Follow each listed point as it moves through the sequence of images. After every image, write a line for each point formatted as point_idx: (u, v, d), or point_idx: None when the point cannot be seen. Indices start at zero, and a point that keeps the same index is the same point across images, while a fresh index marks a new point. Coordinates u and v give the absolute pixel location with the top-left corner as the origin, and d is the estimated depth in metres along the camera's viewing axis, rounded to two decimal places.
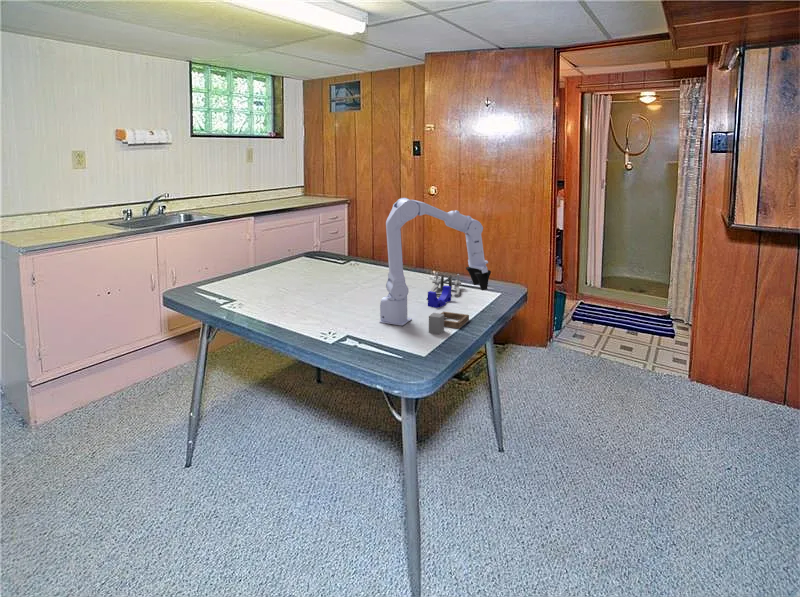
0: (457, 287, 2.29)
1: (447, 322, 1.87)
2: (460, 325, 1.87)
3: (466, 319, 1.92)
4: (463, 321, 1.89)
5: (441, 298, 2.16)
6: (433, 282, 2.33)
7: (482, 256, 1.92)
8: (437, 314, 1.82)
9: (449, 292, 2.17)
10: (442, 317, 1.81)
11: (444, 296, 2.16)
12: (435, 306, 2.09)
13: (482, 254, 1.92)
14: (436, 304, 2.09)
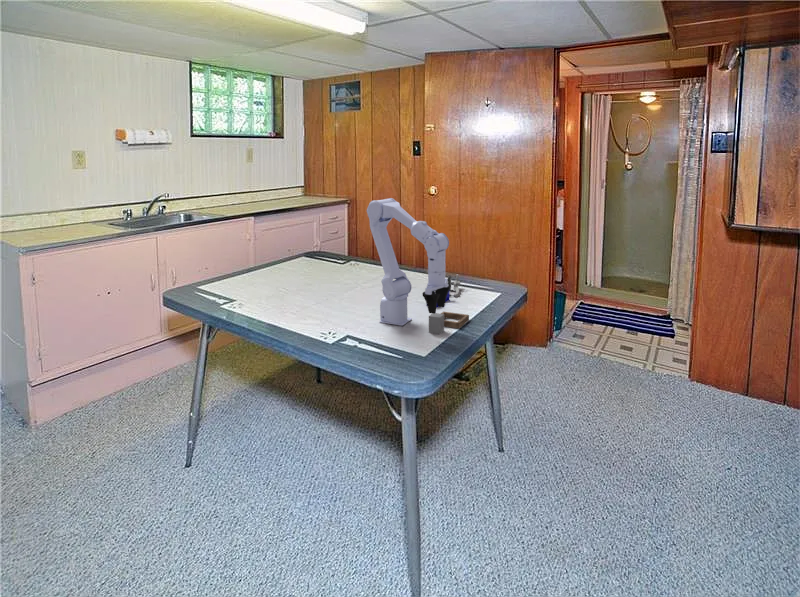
0: (456, 287, 2.29)
1: (447, 322, 1.87)
2: (460, 325, 1.87)
3: (466, 319, 1.92)
4: (463, 321, 1.89)
5: None
6: None
7: (438, 277, 1.75)
8: (437, 314, 1.82)
9: None
10: (442, 317, 1.81)
11: None
12: None
13: (438, 275, 1.75)
14: None
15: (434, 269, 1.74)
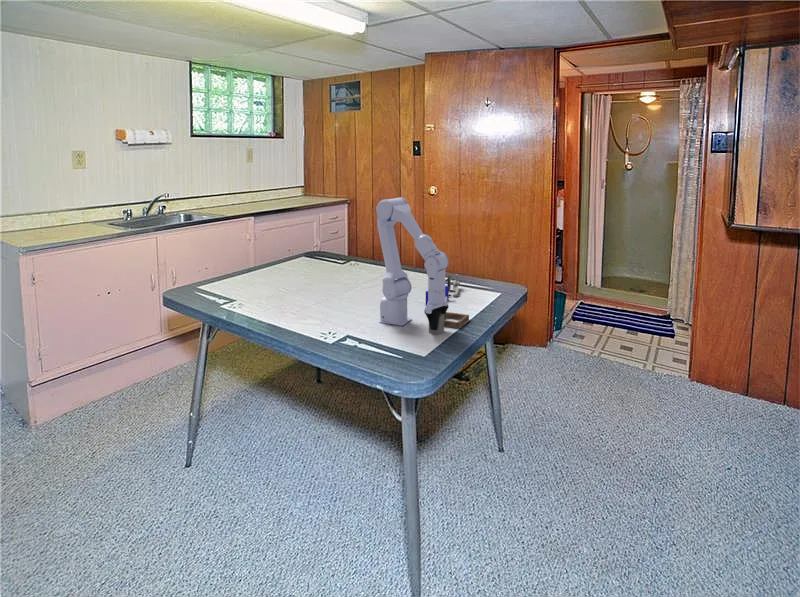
0: (456, 287, 2.29)
1: (447, 322, 1.87)
2: (460, 325, 1.87)
3: (466, 319, 1.92)
4: (463, 321, 1.89)
5: None
6: None
7: (438, 296, 1.77)
8: None
9: (446, 292, 2.17)
10: (442, 317, 1.81)
11: None
12: None
13: (438, 294, 1.77)
14: None
15: (434, 288, 1.76)
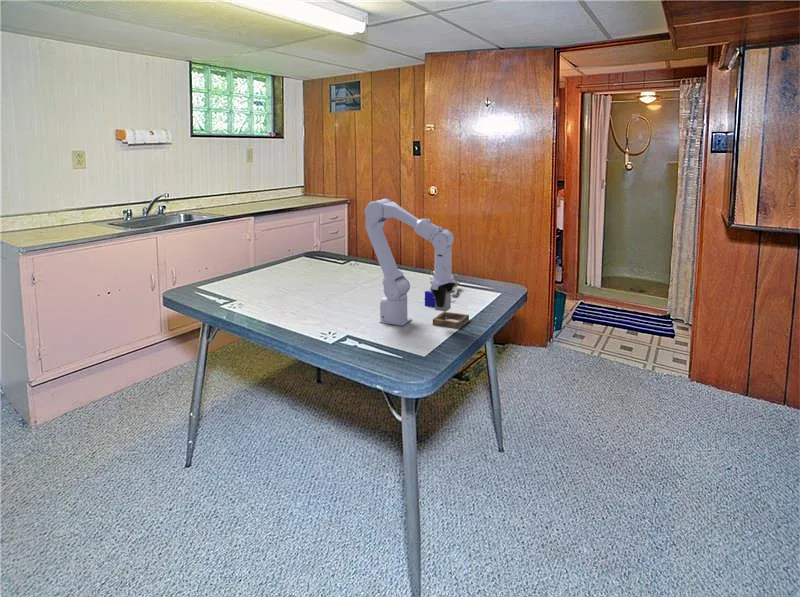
0: (455, 287, 2.29)
1: (447, 322, 1.87)
2: (460, 325, 1.87)
3: (466, 319, 1.92)
4: (463, 321, 1.89)
5: None
6: (431, 282, 2.32)
7: (444, 273, 1.78)
8: None
9: None
10: (448, 294, 1.83)
11: None
12: (432, 306, 2.10)
13: (444, 271, 1.78)
14: (433, 304, 2.09)
15: (443, 265, 1.77)
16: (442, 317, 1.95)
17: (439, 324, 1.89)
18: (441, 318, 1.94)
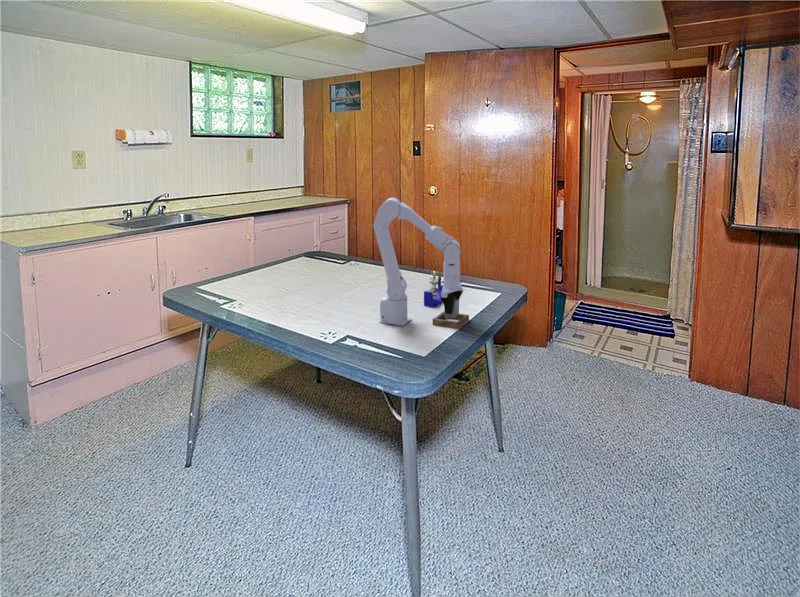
0: None
1: (447, 322, 1.87)
2: (460, 325, 1.87)
3: (466, 319, 1.92)
4: (463, 321, 1.89)
5: (437, 298, 2.16)
6: (430, 282, 2.32)
7: (453, 281, 1.85)
8: None
9: None
10: (457, 302, 1.89)
11: None
12: (431, 306, 2.10)
13: (453, 279, 1.85)
14: (432, 304, 2.09)
15: (454, 273, 1.84)
16: (442, 317, 1.95)
17: (439, 324, 1.89)
18: (441, 318, 1.94)
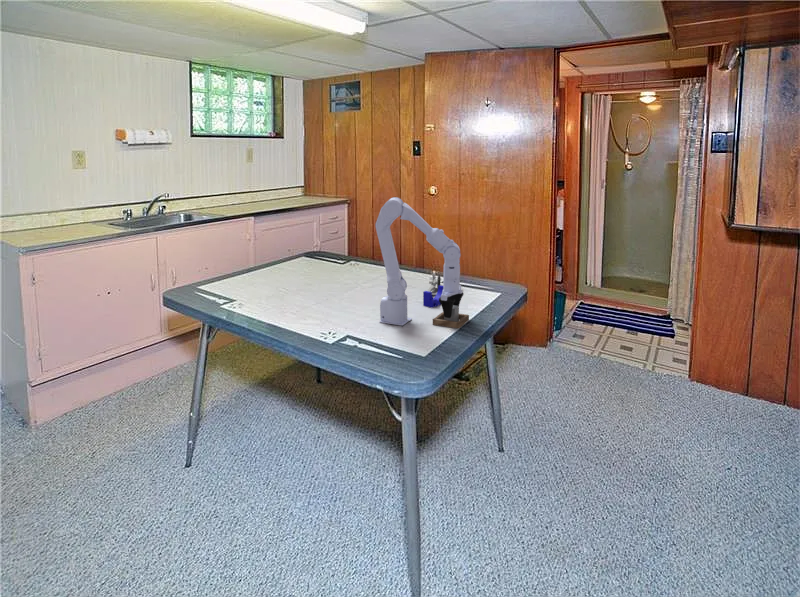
0: None
1: (447, 322, 1.87)
2: (460, 325, 1.87)
3: (466, 319, 1.92)
4: (463, 321, 1.89)
5: (436, 298, 2.16)
6: (430, 282, 2.32)
7: (453, 284, 1.85)
8: None
9: None
10: (457, 308, 1.90)
11: (439, 296, 2.17)
12: (431, 306, 2.10)
13: (453, 282, 1.85)
14: (432, 304, 2.09)
15: (454, 276, 1.85)
16: (442, 317, 1.95)
17: (439, 324, 1.89)
18: (441, 318, 1.94)
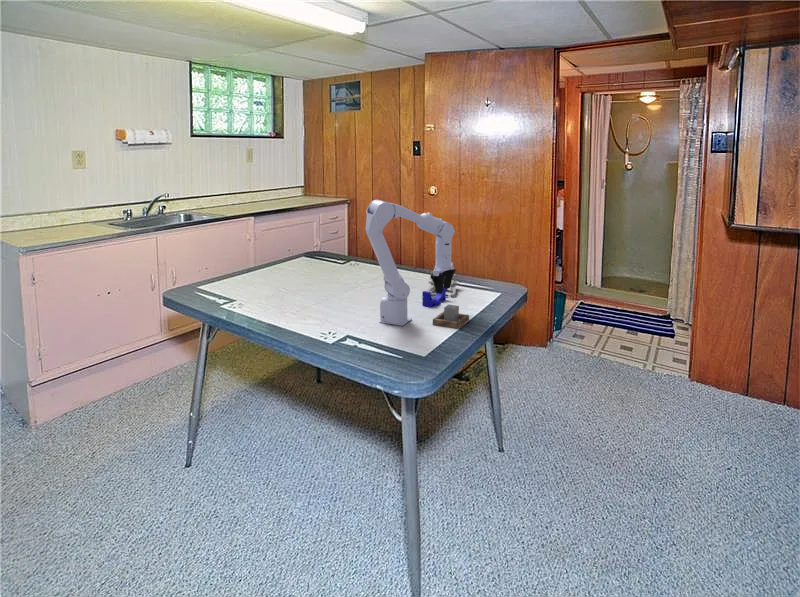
0: (453, 287, 2.28)
1: (447, 322, 1.87)
2: (460, 325, 1.87)
3: (466, 319, 1.92)
4: (463, 321, 1.89)
5: (436, 298, 2.16)
6: (429, 282, 2.32)
7: (444, 260, 1.92)
8: (452, 306, 1.91)
9: (444, 292, 2.17)
10: (457, 308, 1.90)
11: (439, 296, 2.17)
12: (430, 306, 2.10)
13: (445, 258, 1.92)
14: (431, 304, 2.09)
15: (449, 252, 1.92)
16: (442, 317, 1.95)
17: (439, 324, 1.89)
18: (441, 318, 1.94)
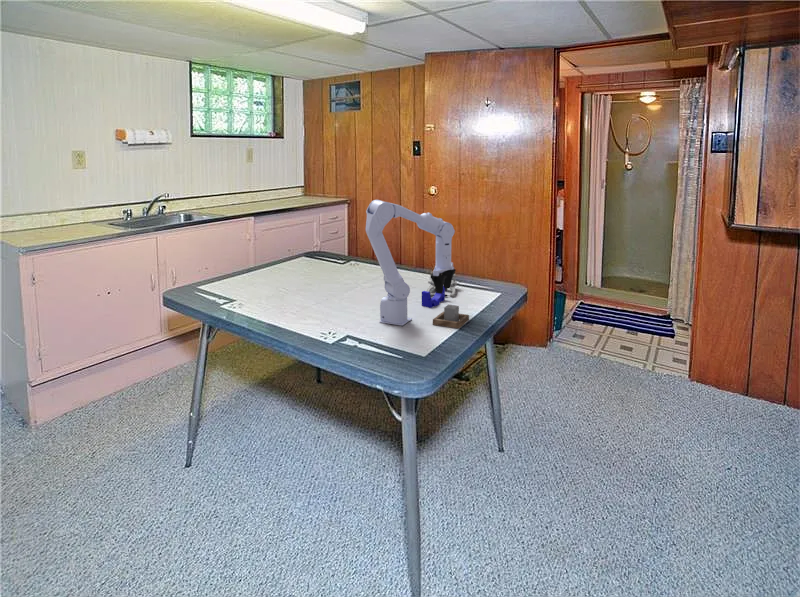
0: (453, 287, 2.28)
1: (447, 322, 1.87)
2: (460, 325, 1.87)
3: (466, 319, 1.92)
4: (463, 321, 1.89)
5: (435, 298, 2.16)
6: (429, 282, 2.32)
7: (444, 260, 1.92)
8: (452, 306, 1.91)
9: (443, 292, 2.17)
10: (457, 308, 1.90)
11: (438, 296, 2.17)
12: (429, 306, 2.10)
13: (445, 258, 1.92)
14: (430, 304, 2.09)
15: (449, 252, 1.92)
16: (442, 317, 1.95)
17: (439, 324, 1.89)
18: (441, 318, 1.94)
